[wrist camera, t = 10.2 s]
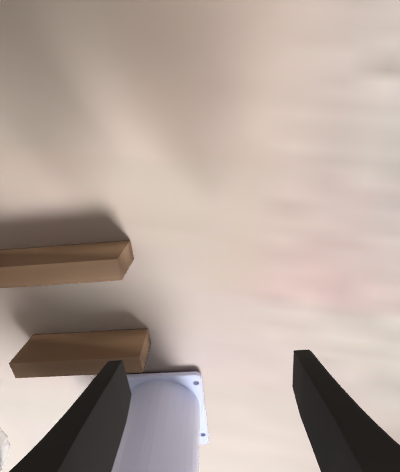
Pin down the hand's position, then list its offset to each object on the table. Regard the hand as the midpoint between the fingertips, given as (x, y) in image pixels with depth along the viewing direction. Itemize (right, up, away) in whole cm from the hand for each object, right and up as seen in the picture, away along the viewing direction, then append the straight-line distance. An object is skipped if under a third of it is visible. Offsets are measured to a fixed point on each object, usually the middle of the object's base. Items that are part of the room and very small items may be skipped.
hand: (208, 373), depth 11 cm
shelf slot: (-10, +1, +10) cm, 14 cm away
